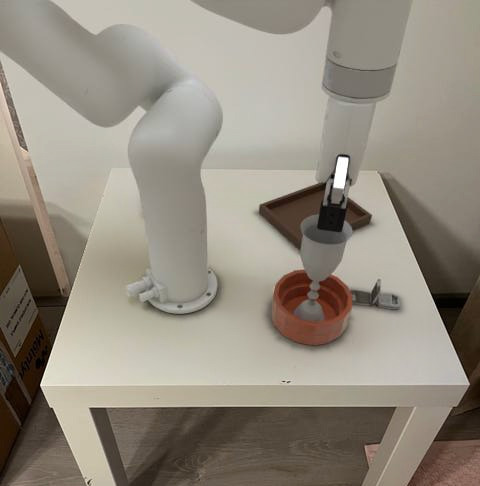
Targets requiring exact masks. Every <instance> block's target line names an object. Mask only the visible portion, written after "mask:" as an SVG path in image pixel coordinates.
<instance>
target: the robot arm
mask: <svg viewBox="0 0 480 486" xmlns="http://www.w3.org/2000/svg"><path fill="white" fill-rule="evenodd" d="M190 1H191V2H192V3H193V4H196V5H197V6H199V7H201V8H202V9H204V10H207V11H209V12H210V13H213V14H215V15H218V16H220V17H223V18H224V19H228V20H230V21H233V22H235V23H237V24H240V25H242V26H245V27H248V28H251V29H254V30H257V31H259V32H263V33H266V34H271V35H289V34H295V33H297V32H299V31H301V30H303V29H305V28H307V26H309V25H310V24H311V23H312V22H313V21H314V20H315V19H316V18H317V16H318V15H319V13H320V12H321V11H322V9H323V8H325V7H327V8H329V9H330V11H331V16H330V22H329V29H328V30H329V31H328V37H327V44H326V51H325V59H324V66H323V73H322V80H321V85H320V86H321V89H322V91H323V92H324V93H325V94H326V95H327V96H328V97H327V98H328V99H327V104H326V109H325V115H324V120H323V126H322V133H321V140H320V147H319V152H318V159H317V165H316V172H315V180H316V182H317V184H318V183H320V182H323V183H324V187H326V190H325V196H324V201H321V207H320V213H319V218H318V224H317V228H318V229H319V230H325V231H332V232H342V229H343V225H344V220H345V216H346V211H347V207H348V204H347V198H348V197H349V191H350V188H351V187H353V186H355V185H356V184H357V180H358V177H359V173H360V170H361V168H362V167H361V166H362V163H363V160H364V156H365V152H366V148H367V144H368V141H369V136H370V133H371V129H372V125H373V120H374V115H375V111H376V107H377V103H378V102H381V101H385V100H386V99H387V98H388V97H389V96H390V94H391V90H392V88H393V87H392V86H393V83H394V78H395V76H396V75H395V74H396V70H397V67H398V62H399V59H400V54H401V51H402V47H403V46H402V45H403V42H404V38H405V33H406V29H407V25H408V21H409V17H410V13H411V9H412V5H413V1H414V0H190ZM0 53H2V54H3V55H5V56H6V57H7V58H9V59H10V60H12V61H13V62H14V63H16V64H17V65H18V66H20V67H21V68H22V69H24V70H25V72H27V73H28V74H29V75H30V76H31V77H33V79H35V80H36V81H37V82H39V83H40V84H41V85H42V86H44V87H45V88H47V90H48V91H50V92H51V93H52V94H54V95H55V96H56V97H57V98H59V99H60V100H61V101H62V102H63V103H65V104H66V105H67V106H68V107H70V108H71V109H72V110H73V111H75V112H76V113H77V114H79V115H80V116H81V117H83V118H84V119H85V120H86V121H88V122H90V123H91V124H93V125H95V126H97V127H100V128H105V129H108V128H113V127H115V126H118V125H120V124H121V123H122V122H124V121H125V120H126V119H127V118H128V117H130V116H131V114H132V113H133V112H135V110H136V109H137V108H138V107H140V108H141V109H143V110H144V111H145V113H144V114H143V115H142V117H140V119H139V120H138V121H137V123H136V125H135V126H134V128H133V130H132V132H131V134H130V137H129V138H128V144H127V157H128V163H129V165H130V169H131V172H132V174H133V177H134V180H135V184H136V186H137V190H138V195H139V199H140V200H139V201H140V205H141V211H142V212H141V213H142V217H143V218H142V219H143V223H144V229H145V237H146V244H147V250H148V257H149V264H150V267H149V268H146V269H145V276H143V277H141V280H139V281H136V282H133V283H129V284H127V285H125V286H124V290H125V292H126V294H127V296H128V297H129V298H131V297H133V296H135V295H137V294H138V298H139V300H140V302H141V303H143V302H146V301H148V302H149V303H150V304H151V305H152V306H153V307H155V308H156V309H158V310H160V311H162V312H165V313H169V314H177V315H178V314H179V315H182V314H183V315H184V314H189V313H194V312H197V311H199V310H202V309H204V308H205V307H206V306H208V305H209V304H210V303H211V302H212V301H213V300H214V299H215V297H216V295H217V292H218V279H217V276H216V274H215V273H214V271H213V270H212V269H211V268H210V267H209V254H208V253H209V252H208V250H209V249H208V214H207V197H206V191H205V187H204V184H203V181H202V166H203V163H204V161H205V158H206V157H207V155H208V154H209V152H210V149H212V146H213V145H214V143H215V142H216V140H217V139H218V137H219V135H220V133H221V130H222V127H223V123H224V122H223V121H224V114H223V109H222V105H221V103H220V101H219V99H218V97H217V96H216V95H215V93H214V92H213V91H212V89H211V88H210V87H209V86H208V85H207V84H206V83H205V82H204V81H203V80H202V79H201V78H200V77H199V76H198V75H197V74H195V73H194V72H193V71H192V70H191V69H190V68H189V67H188V66H187V65H186V64H185V63H184V62H182V61H181V60H180V59H179V58H178V57H177V56H175V54H174V53H172V52H171V51H170V50H169V49H168V48H167V47H166V46H165V45H163V43H161V42H160V41H159V40H158V39H157V38H155V37H154V36H153V35H152V34H150V33H149V32H147V31H146V30H144V29H142V28H140V27H137V26H135V25H131V24H127V23H118V24H113V25H110V26H108V27H106V28H104V29H102V30H101V31H100V32H98V33H97V34H94V33H92V32H91V31H89V30H88V29H87V28H85V27H84V26H83V25H81V24H80V23H79V22H78V21H76V20H75V19H74V18H73V17H72V16H71V15H70V14H69V13H67V12H66V11H65V10H64V9H63V8H62V7H61V6H59V5H58V4H56V3H55V2H54V1H52V0H0ZM330 188H331V189H332V193H331V192H330ZM329 192H330V194H329Z"/></svg>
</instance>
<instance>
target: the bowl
mask: <svg viewBox="0 0 480 486" xmlns="http://www.w3.org/2000/svg"><path fill="white" fill-rule="evenodd" d="M312 282H313V280H311V279H310V278H309V277H308V275H307V273H306V271H305V269H304V268H303V269H296V270H295V269H294V270H293V271H290V272H288V273H286V274H284V275H282V277H281V278H280V279H279V280H278V281H277V282H276V283H275V285H274V288H273V293H272V302H271V309H270V316H271V319H272V324H273V326H274V327H275V328H276V329H277V330H278V331H279V332H280V333H281V334H282V336H284V337H285V338H287V339H290V340H291V341H293V342H295V343H296V344H297V343H298V344H304V345H310V346H318V345H324V344H329V343H330V342H332V341H334V340H336V339H338V338H340V337H341V335H342V334H343V333H344V331H345V330H346V329H347V326H348V323H349V319H350V317H351V313H352V309H353V303H352V301H353V300H354V296H353V295H352V294H353V293H352V294H351V292H350V291H351V290H350V288H349V286H348V285H347V284H346V283H345V282H344V281H343V280H342V279H340V278H339V277H338V276H336V275H334V274H333V273H331V274H330V275H329V276H328V277H327V278H326V279H325V280H323V281H319V285H320V289H318V290H317V293H318V294H319V297H318V298H316V299H315V301H316V302H317V303H319V304H320V306H321V308H322V311H323V313H324V320H323V321H321V322H313V321H307V320H302V319H300V318H298V317H296V316H294V311H295V310H296V308H297V307H298V306H299V305H300V304H301V303H302V302H303V301H306V300H309V297H308V295H307V294H308V292H310V291H311V288H310V284H312Z"/></svg>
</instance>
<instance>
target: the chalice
mask: <svg viewBox="0 0 480 486" xmlns="http://www.w3.org/2000/svg"><path fill="white" fill-rule="evenodd" d="M318 218H319V214H318V215H312V216H310V217H307V218H305V219H304V220H303V221H302V223H301V226H300V227H301V231H302V233H303V237H302V244H301V250H299V256H300V259H301V263H302V267H303V270H304V269H305V271H306V273H307V275H308V277H309V278H310V279H311V280H313V282H312V284H310V288H311V291H310V292H308V294H307V295H308V297H309V300H306V301H303V302H302V303H301V304H300V305H299V306H298V307H297V308H296V310H295V311H294V316H296V317H298V318H300V319H302V320H307V321H313V322H321V321H323V320H324V313H323V311H322V308H321V306H320V304H319V303H317V302H316V301H315V299H316V298H318V297H319V294H318V293H317V290H318V289H320V285H319V281H323V280H325V279H326V278H327V277H328V276H329V275H330V274H333V273H334V272H335V270H336V269H337V268H338V267H339V265H340V264H341V263H342V261H343V257H344V253H345V249H346V245H347V242H348V241H349V240H350V238H352V236H353V232H354V230H352V228H351V226H350V225H349V224H348V222H346V221H345V220H344V225H343V229H342V232H332V231H325V230H319V229H318V228H317V224H318Z"/></svg>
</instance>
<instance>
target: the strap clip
mask: <svg viewBox="0 0 480 486" xmlns="http://www.w3.org/2000/svg"><path fill="white" fill-rule="evenodd" d="M381 291H382V280H381V278H379V279H377V280H376V283H375V285H373V289H372V290H371V293H370V292H367V291H362V290H354V289H351V290H350V292H351V294H355V295H356V300H354V299H353V301H352V304H354V305H359V306H360V305H361V306H371V305H373V304H375V305H376V306H377V307H378V308H383V309H389V310H398V309H399V308H400V305H401V304H400V296H399V295H397V294H396V293H395V294H394V293H392V292H391V293H389V292H381ZM393 300H396V301H395V302H396V304H395V303H393Z"/></svg>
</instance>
